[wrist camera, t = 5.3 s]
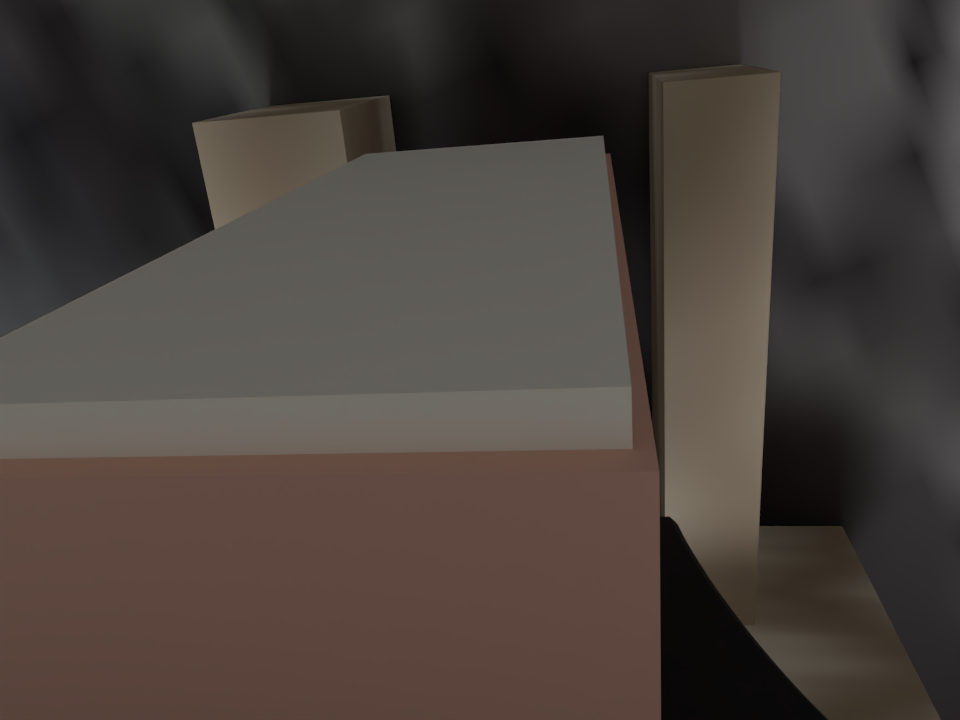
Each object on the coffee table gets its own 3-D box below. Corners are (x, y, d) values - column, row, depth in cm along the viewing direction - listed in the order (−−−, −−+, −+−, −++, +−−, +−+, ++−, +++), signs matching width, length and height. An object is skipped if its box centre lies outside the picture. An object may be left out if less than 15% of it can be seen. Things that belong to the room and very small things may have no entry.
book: (432, 650, 17) (236, 1396, 8) (363, 152, 13) (-194, 424, 4) (624, 655, 16) (666, 1472, 7) (609, 133, 12) (658, 407, 3)
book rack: (289, 568, 24) (134, 840, 16) (191, 112, 19) (-104, 170, 11) (838, 571, 22) (985, 896, 14) (886, 51, 17) (1165, 67, 9)
